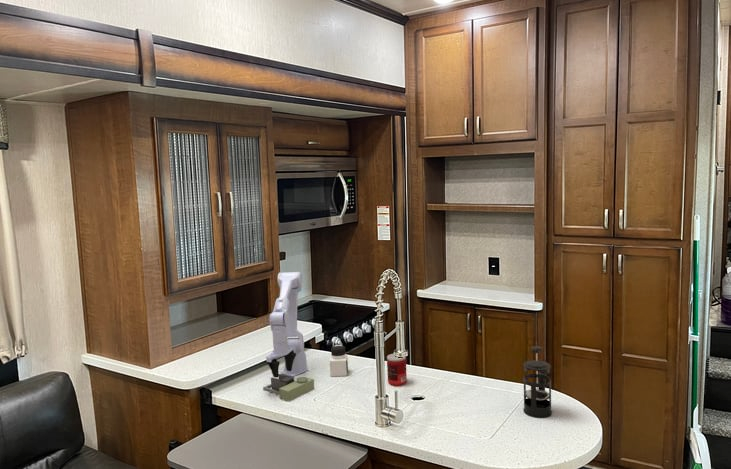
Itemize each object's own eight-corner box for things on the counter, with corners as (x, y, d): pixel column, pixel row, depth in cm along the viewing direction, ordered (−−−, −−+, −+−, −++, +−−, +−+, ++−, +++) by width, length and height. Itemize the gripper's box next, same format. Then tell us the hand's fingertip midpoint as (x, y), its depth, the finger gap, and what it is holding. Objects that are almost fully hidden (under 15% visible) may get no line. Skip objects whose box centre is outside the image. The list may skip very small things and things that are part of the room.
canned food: (407, 378, 216) (406, 352, 215) (406, 386, 208) (405, 359, 207) (388, 378, 216) (387, 353, 215) (387, 386, 209) (386, 359, 207)
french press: (547, 421, 174) (546, 354, 171) (519, 415, 179) (518, 350, 176) (556, 407, 183) (555, 343, 181) (529, 402, 188) (528, 340, 186)
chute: (271, 389, 211) (270, 377, 211) (280, 385, 215) (279, 373, 215) (286, 393, 207) (285, 381, 206) (294, 389, 211) (293, 377, 210)
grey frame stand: (285, 380, 220) (284, 368, 220) (314, 388, 210) (313, 376, 209) (259, 391, 210) (258, 379, 209) (288, 401, 199) (287, 388, 198)
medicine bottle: (347, 376, 222) (345, 348, 220) (330, 376, 222) (329, 349, 220) (348, 370, 229) (346, 343, 227) (331, 370, 229) (330, 344, 227)
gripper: (285, 334, 217) (287, 366, 218) (259, 344, 205) (262, 378, 207) (298, 337, 213) (300, 369, 214) (272, 347, 201) (275, 381, 203)
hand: (282, 373), depth 210 cm, fingers open, 7 cm apart
